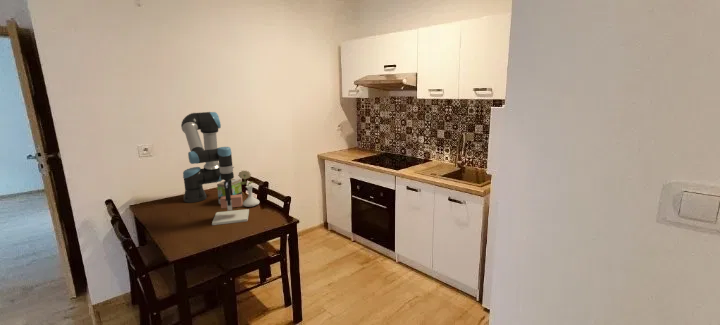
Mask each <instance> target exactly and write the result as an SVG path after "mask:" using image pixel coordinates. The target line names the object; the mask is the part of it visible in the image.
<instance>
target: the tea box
mask: <svg viewBox="0 0 720 325" xmlns="http://www.w3.org/2000/svg"><path fill="white" fill-rule="evenodd" d="M231 181H232V183H231V184H232V193H233V194H232V195H239V194H242V195H243V190H242V184H240V183H241V182H242V178H239V179H237V178H233V179H231ZM224 182H225V180H222V181H220V182H218V183H217V184H216V186H217V197H218V204H219V205H221V202H220V198H221V196H226V195H225V187H224Z"/></svg>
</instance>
